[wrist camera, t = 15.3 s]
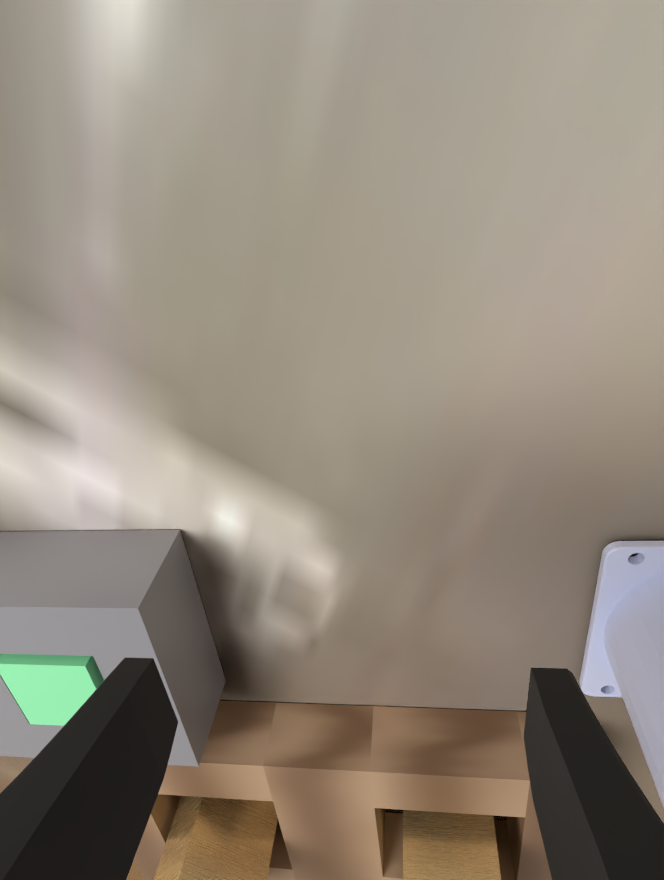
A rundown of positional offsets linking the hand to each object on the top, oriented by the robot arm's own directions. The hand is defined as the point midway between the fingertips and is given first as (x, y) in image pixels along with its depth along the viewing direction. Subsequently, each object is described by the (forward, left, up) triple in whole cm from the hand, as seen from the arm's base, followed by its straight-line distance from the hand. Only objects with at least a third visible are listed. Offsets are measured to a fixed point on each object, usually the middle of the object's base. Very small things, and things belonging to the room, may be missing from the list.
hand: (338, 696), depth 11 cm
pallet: (+3, +20, -9) cm, 22 cm away
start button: (+12, +8, -8) cm, 17 cm away
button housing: (+12, +8, -9) cm, 17 cm away
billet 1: (+9, +20, -10) cm, 24 cm away
